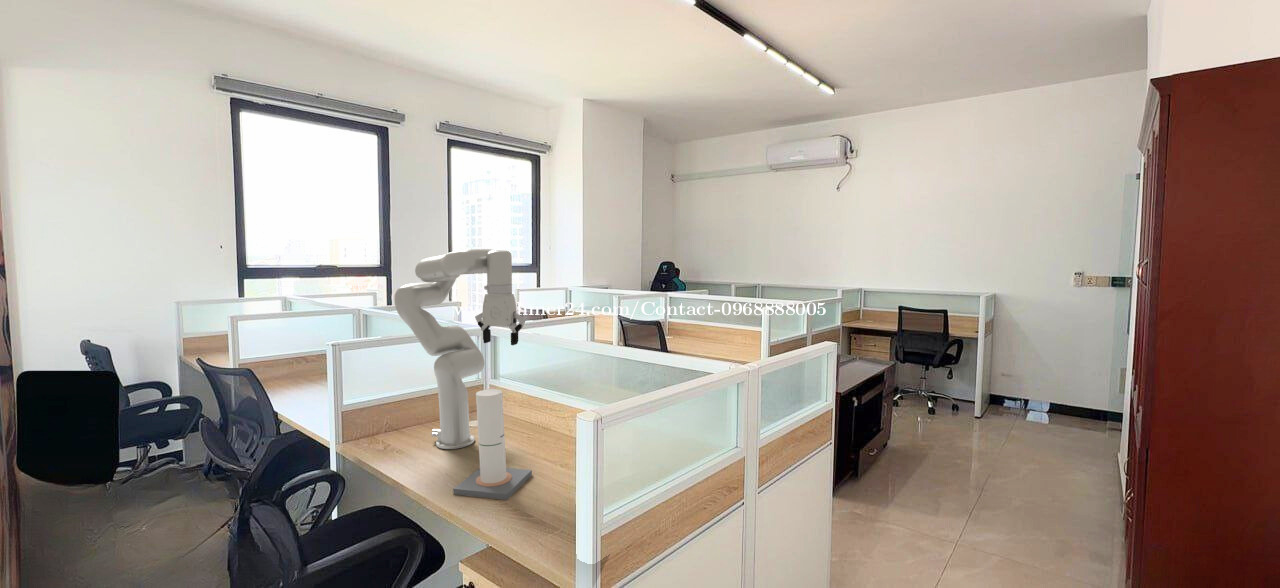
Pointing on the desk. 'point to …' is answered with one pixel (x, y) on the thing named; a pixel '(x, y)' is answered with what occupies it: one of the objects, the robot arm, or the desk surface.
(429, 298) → the robot arm
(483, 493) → the board
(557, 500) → the desk surface
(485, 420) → the cylindrical container
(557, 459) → the desk surface
